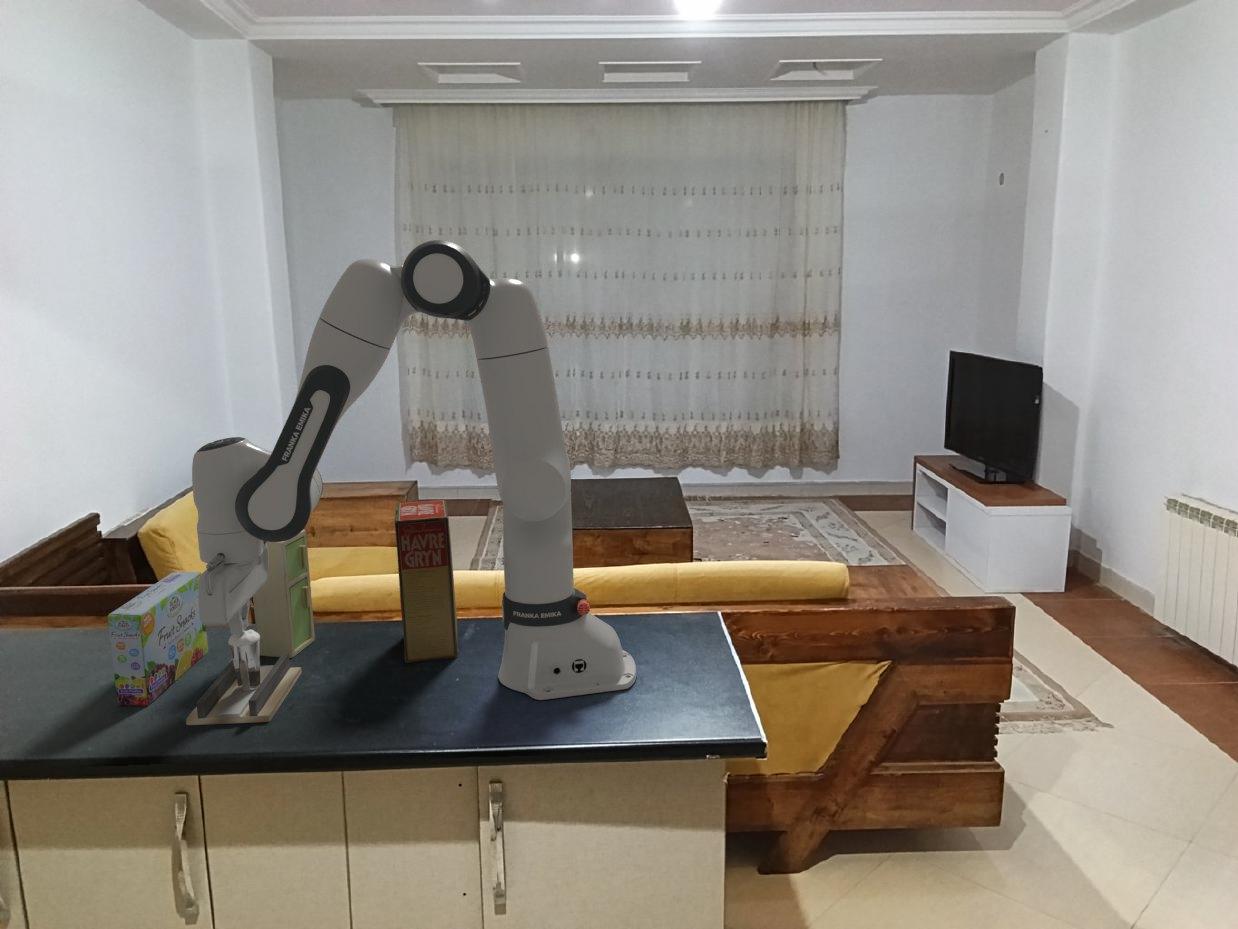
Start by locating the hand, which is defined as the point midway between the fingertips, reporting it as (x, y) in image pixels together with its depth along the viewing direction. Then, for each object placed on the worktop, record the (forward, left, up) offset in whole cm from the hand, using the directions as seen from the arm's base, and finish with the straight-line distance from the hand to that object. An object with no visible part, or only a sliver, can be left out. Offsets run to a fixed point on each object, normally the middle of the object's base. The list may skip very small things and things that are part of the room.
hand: (239, 631), depth 142 cm
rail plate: (0, 0, -11) cm, 11 cm away
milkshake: (0, -1, -10) cm, 10 cm away
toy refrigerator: (-1, -19, -11) cm, 22 cm away
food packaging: (-26, -18, -11) cm, 34 cm away
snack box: (+16, -9, -11) cm, 22 cm away
